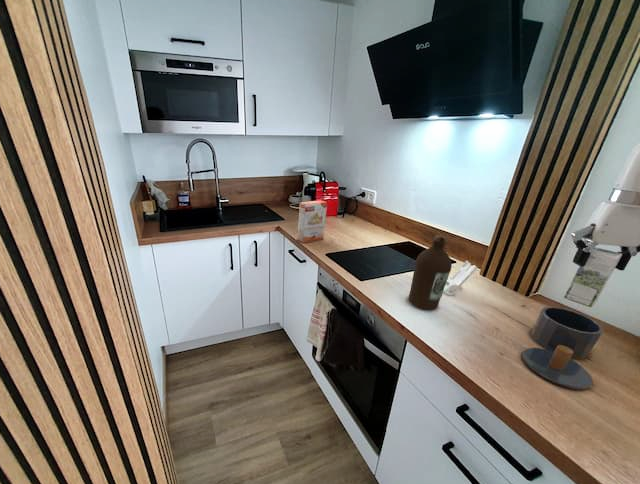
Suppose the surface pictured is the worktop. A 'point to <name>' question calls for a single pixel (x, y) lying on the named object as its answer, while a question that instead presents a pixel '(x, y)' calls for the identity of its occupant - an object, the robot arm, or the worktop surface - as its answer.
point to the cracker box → (311, 221)
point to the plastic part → (459, 278)
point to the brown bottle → (430, 275)
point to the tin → (566, 331)
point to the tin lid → (558, 367)
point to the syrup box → (592, 276)
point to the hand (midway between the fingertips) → (597, 265)
